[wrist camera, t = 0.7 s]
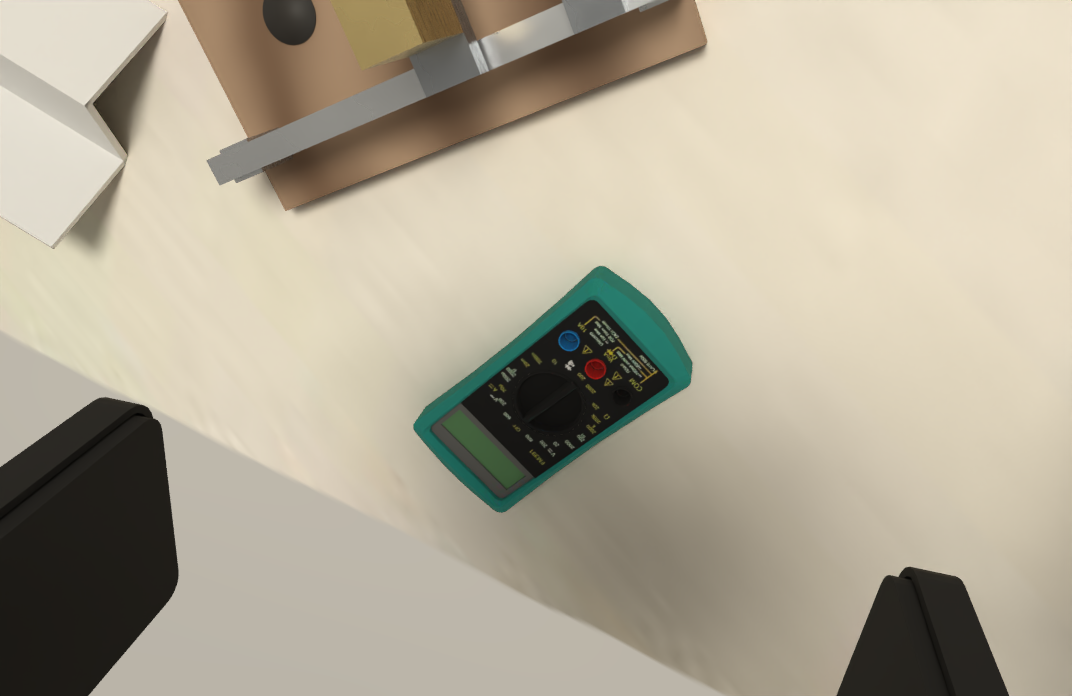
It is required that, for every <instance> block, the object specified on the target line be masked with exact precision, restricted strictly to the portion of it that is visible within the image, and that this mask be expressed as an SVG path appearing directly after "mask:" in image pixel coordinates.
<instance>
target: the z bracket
mask: <svg viewBox="0 0 1072 696" xmlns="http://www.w3.org/2000/svg"><path fill="white" fill-rule="evenodd" d="M167 13H168V12H167V11H165V10H164V9H162V8H160V7H159V6H157V5H156V4H154V3H152V2H151V1H149V0H0V217H2V218H3V219H5V220H7V221H8V222H10V223H12V224H13V225H15V226H16V227H18V228H20V229H21V230H23V231H25V232H26V233H28V234H30V235H31V236H33V237H35V238H36V239H38V240H40V241H41V242H43V243H45V244H46V245H48V246H49V247H51V248H53V249H55V247H56V246H57V245H58V244H59V243H60V241H61V240H62V239H63V238H64V237H65V236H66V234H67V233H68V232H69V231H70V230H71V228H72V227H73V226H74V225H75V224H76V222H77V221H78V220H79V219H80V218H81V216H82V215H83V214H84V213H85V212H86V211H87V209H88V208H89V207H90V206H91V205H92V203H93V202H94V201H95V200H96V199H97V197H98V196H99V195H100V194H101V193H102V191H103V190H104V189H105V188H106V187H107V186H108V184H109V183H110V182H111V181H112V180H113V178H114V177H115V176H116V175H117V174H118V172H119V171H120V170H121V169H122V168H123V167H124V165H125V164H126V160H127V157H128V155H127V154H126V152H125V151H124V149H123V148H122V147H121V145H120V144H119V142H118V141H117V139H116V138H115V136H114V135H113V133H112V132H111V130H110V129H109V128H108V126H107V125H106V123H105V122H104V120H103V119H102V117H101V116H100V114H99V113H98V111H97V110H96V109H95V107H94V106H93V102H94V101H95V100H96V99H97V98H98V97H99V96H100V94H101V93H102V92H103V91H104V90H105V89H106V88H107V87H108V85H109V84H110V83H111V82H112V81H113V80H114V79H115V77H116V76H117V75H118V74H119V73H120V72H121V71H122V69H123V68H124V67H125V66H126V65H127V64H128V63H129V62H130V60H131V59H132V58H133V57H134V56H135V55H136V54H137V52H138V51H139V50H140V49H141V48H142V47H143V46H144V44H145V43H146V42H147V41H148V40H149V39H150V38H151V37H152V35H153V34H154V33H155V32H156V31H157V30H158V29H159V27H160V26H161V25H162V24H163V23H164V22H165V20H166V17H167Z"/></svg>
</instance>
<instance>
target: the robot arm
mask: <svg viewBox="0 0 1072 696" xmlns="http://www.w3.org/2000/svg"><path fill="white" fill-rule="evenodd" d="M177 582H178V563H177V555H176V546H175V538H174V528H173V520H172V512H171V503H170V495H169V485H168V477H167V468H166V460H165V451H164V442H163V434H162V428H161V424H160V423H159V421H158V420H156V419H153V416H152V413H151V411H150V410H149V408H148V407H146V406H144V405H140V404H135V403H130V402H125V401H121V400H116V399H112V398H106V397H105V398H99V399H97V400H95V401H93V402H91V403H90V404H89V405H87V406H86V407H84V408H83V409H81V410H80V411H79V412H77V413H76V414H74V415H73V416H72V417H70V418H69V419H67V420H66V421H65V422H63V423H62V424H60V425H59V426H57V427H56V428H55V429H53V430H52V431H50V432H49V433H48V434H46V435H45V436H43V437H42V438H41V439H39V440H38V441H36V442H35V443H34V444H32V445H31V446H29V447H28V448H27V449H25V450H24V451H22V452H21V453H20V454H18V455H17V456H15V457H14V458H13V459H11V460H10V461H8V462H7V463H6V464H4V465H3V466H1V467H0V696H88V695H89V694H90V693H91V692H92V691H93V689H94V688H95V687H96V686H97V685H98V683H99V682H100V681H101V680H102V679H103V678H104V676H105V675H106V674H107V673H108V672H109V671H110V669H111V668H112V667H113V665H114V664H115V663H116V662H117V661H118V660H119V659H120V658H121V656H122V655H123V654H124V653H125V652H126V651H127V649H128V648H129V647H130V646H131V645H132V643H133V642H134V641H135V640H136V639H137V637H138V636H139V635H140V634H141V633H142V632H143V631H144V629H145V628H146V627H147V626H148V625H149V623H150V622H151V621H152V620H153V619H154V618H155V616H156V615H157V614H158V613H159V612H160V610H161V609H162V608H163V607H164V606H165V605H166V603H167V602H168V601H169V599H170V598H171V597H172V594H173V593H174V591H175V588H176V585H177ZM837 696H1009V694H1008V692H1007V689H1006V687H1005V684H1004V682H1003V679H1002V677H1001V674H1000V672H999V669H998V667H997V664H996V662H995V659H994V657H993V654H992V652H991V650H990V647H989V645H988V642H987V640H986V637H985V635H984V632H983V630H982V627H981V625H980V622H979V620H978V617H977V615H976V612H975V610H974V607H973V605H972V602H971V600H970V597H969V595H968V593H967V590H966V588H965V585H964V584H963V582H962V580H961V579H959V578H958V577H956V576H951V575H946V574H941V573H937V572H932V571H927V570H923V569H918V568H913V567H906V568H905V569H904V570H903V571H902V572H901V573H900V575H899V577H896V576H891V575H888V576H886V577H885V578H884V579H883V581H882V583H881V585H880V588H879V590H878V593H877V595H876V598H875V600H874V603H873V605H872V608H871V610H870V613H869V615H868V618H867V620H866V623H865V625H864V628H863V630H862V633H861V635H860V638H859V640H858V643H857V645H856V648H855V650H854V653H853V655H852V658H851V660H850V663H849V665H848V668H847V670H846V673H845V675H844V678H843V681H842V683H841V686H840V688H839V691H838V693H837Z"/></svg>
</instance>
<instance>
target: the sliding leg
mask: <svg viewBox="0 0 1072 696" xmlns="http://www.w3.org/2000/svg"><path fill="white" fill-rule="evenodd" d="M330 1H331V3H332V6H333V8H334V10H335V12H336V15H337V17H338V19H339V21H340V23H341V26H342V28H343V30H344V32H345V35H346V37H347V39H348V41H349V43H350V46H351V48H352V50H353V52H354V55H355V57H356V59H357V61H358V63H359V66H360V68H361V70H366V69H369V68H373V67H376V66H380V65H383V64H387V63H390V62H393V61H397V60H400V59H404V58H407V57H409V58H410V61H411V63H412V65H413V68H414V70H415V72H416V75H417V77H418V79H419V82H420V84H421V86H422V89H423V91H424V93H425V96H426V98H427V97H429V96H431V95H434V94H436V93H438V92H441V91H443V90H445V89H448V88H450V87H452V86H455V85H457V84H460V83H462V82H464V81H467V80H469V79H471V78H474V77H476V76H478V75H481V74H483V73H485V72H487V71H489V69H488V67H487V64H486V62H485V59H484V57H483V54H482V52H481V49H480V46H479V44H478V41H477V39H476V36H475V34H474V31H473V29H472V26H471V24H470V21H469V19H468V16H467V14H466V11H465V9H464V6H463V4H462V1H461V0H330Z"/></svg>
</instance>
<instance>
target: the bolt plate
mask: <svg viewBox="0 0 1072 696" xmlns="http://www.w3.org/2000/svg"><path fill="white" fill-rule="evenodd" d="M178 1H179V3H180V5H181V7H182V9H183V11H184V13H185V15H186V17H187V19H188V21H189V23H190V25H191V27H192V29H193V31H194V32H195V34H196V36H197V38H198V40H199V42H200V44H201V46H202V48H203V50H204V52H205V54H206V56H207V58H208V60H209V62H210V64H211V66H212V68H213V70H214V72H215V74H216V76H217V78H218V80H219V82H220V83H221V85H222V87H223V89H224V91H225V93H226V95H227V97H228V99H229V101H230V103H231V105H232V107H233V109H234V111H235V113H236V115H237V117H238V119H239V121H240V123H241V125H242V127H243V129H244V131H245V133H246V134H247V136H248V138H247V139H245V140H242V141H240V142H238V143H236V144H233V145H231V146H229V147H227V148H224V149H222V150H220V153H221V154H220V155H218V156H215V157H213V158H211V159H209V160H206V161H207V162H208V164H209V166H210V168H211V170H212V172H213V174H214V176H215V177H216V179H217V181H218V183H219V185H222V184H224V183H226V182H229V181H231V180H235V182H236V183H238V182H240V181H243V180H245V179H247V178H250V177H252V176H254V175H257V174H259V173H261V172H264V171H265V172H266V174H267V176H268V178H269V180H270V182H271V184H272V185H273V187H274V189H275V191H276V193H277V195H278V197H279V199H280V201H281V203H282V205H283V207H284V209H285V211H287V210H289V209H292V208H295V207H297V206H300V205H302V204H305V203H307V202H310V201H312V200H315V199H317V198H320V197H322V196H325V195H327V194H330V193H332V192H335V191H337V190H340V189H342V188H345V187H348V186H350V185H353V184H355V183H358V182H360V181H363V180H365V179H368V178H370V177H373V176H375V175H378V174H380V173H383V172H385V171H388V170H390V169H393V168H395V167H398V166H400V165H403V164H406V163H408V162H411V161H413V160H416V159H418V158H421V157H423V156H426V155H428V154H431V153H433V152H436V151H438V150H441V149H443V148H446V147H448V146H451V145H453V144H456V143H459V142H461V141H464V140H466V139H469V138H471V137H474V136H476V135H479V134H481V133H484V132H486V131H489V130H491V129H494V128H496V127H499V126H501V125H504V124H506V123H509V122H512V121H514V120H517V119H519V118H522V117H524V116H527V115H529V114H532V113H534V112H537V111H539V110H542V109H544V108H547V107H549V106H552V105H554V104H557V103H559V102H562V101H565V100H567V99H570V98H572V97H575V96H577V95H580V94H582V93H585V92H587V91H590V90H592V89H595V88H597V87H600V86H602V85H605V84H607V83H610V82H612V81H615V80H618V79H620V78H623V77H625V76H628V75H630V74H633V73H635V72H638V71H640V70H643V69H645V68H648V67H650V66H653V65H655V64H658V63H660V62H663V61H665V60H668V59H670V58H673V57H676V56H678V55H681V54H683V53H686V52H688V51H691V50H693V49H696V48H698V47H701V46H703V45H706V43H707V39H706V35H705V32H704V29H703V25H702V22H701V19H700V16H699V12H698V9H697V6H696V3H695V0H461V1H462V4H463V6H464V9H465V11H466V14H467V16H468V19H469V21H470V24H471V26H472V29H473V31H474V34H475V36H476V39H477V41H478V44H479V46H480V49H481V52H482V54H483V57H484V59H485V62H486V64H487V67H488V69H489V71H487V72H485V73H483V74H481V75H478V76H476V77H474V78H471V79H469V80H467V81H464V82H462V83H460V84H457V85H455V86H452V87H450V88H448V89H445V90H443V91H441V92H438V93H436V94H434V95H431V96H429V97H427V98H426V96H425V93H424V91H423V89H422V86H421V84H420V82H419V79H418V77H417V75H416V72H415V70H414V68H413V65H412V63H411V61H410V58H409V57H407V58H404V59H400V60H397V61H393V62H390V63H387V64H383V65H380V66H376V67H373V68H369V69H366V70H361V68H360V66H359V63H358V61H357V59H356V57H355V55H354V52H353V50H352V48H351V46H350V43H349V41H348V39H347V37H346V35H345V32H344V30H343V28H342V26H341V23H340V21H339V19H338V17H337V15H336V12H335V10H334V8H333V6H332V3H331V1H330V0H178Z"/></svg>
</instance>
